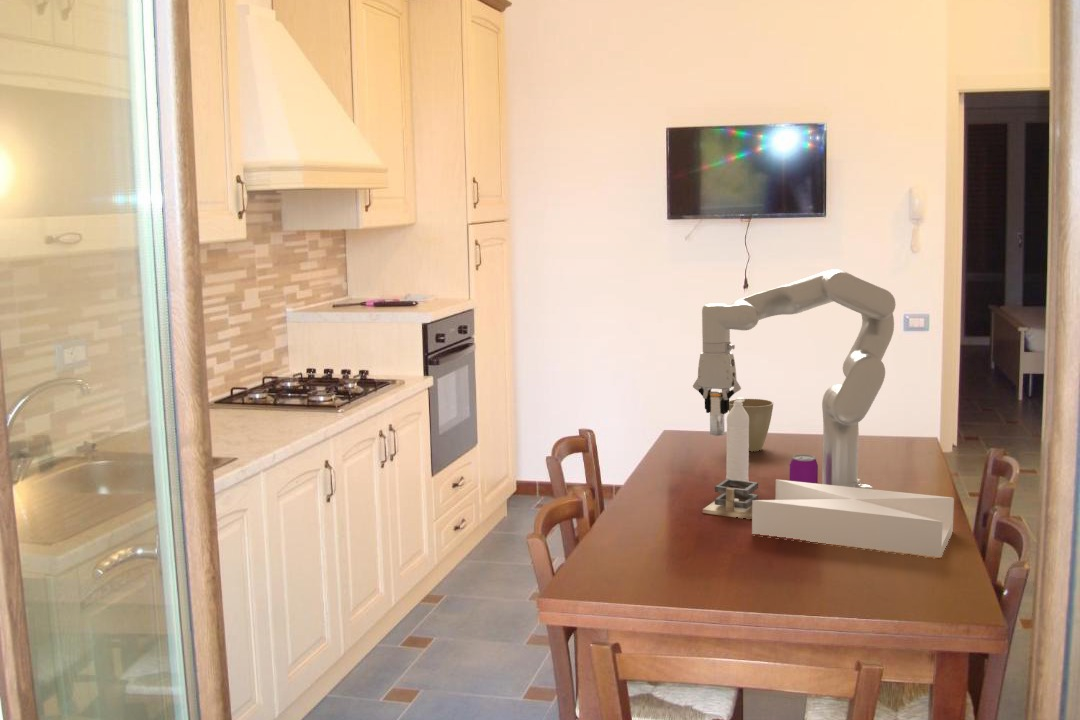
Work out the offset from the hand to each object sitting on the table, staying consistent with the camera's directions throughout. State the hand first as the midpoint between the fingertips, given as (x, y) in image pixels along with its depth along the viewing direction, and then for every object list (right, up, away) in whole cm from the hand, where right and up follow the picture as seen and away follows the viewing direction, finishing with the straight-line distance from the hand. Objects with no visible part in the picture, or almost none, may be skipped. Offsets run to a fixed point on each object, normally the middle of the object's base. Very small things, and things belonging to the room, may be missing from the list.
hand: (717, 411), depth 304 cm
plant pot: (+20, -15, +58) cm, 64 cm away
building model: (+29, -30, -32) cm, 52 cm away
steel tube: (0, -6, +1) cm, 6 cm away
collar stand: (+4, -26, -10) cm, 28 cm away
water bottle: (+9, -22, +17) cm, 29 cm away
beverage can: (+24, -25, -1) cm, 34 cm away
